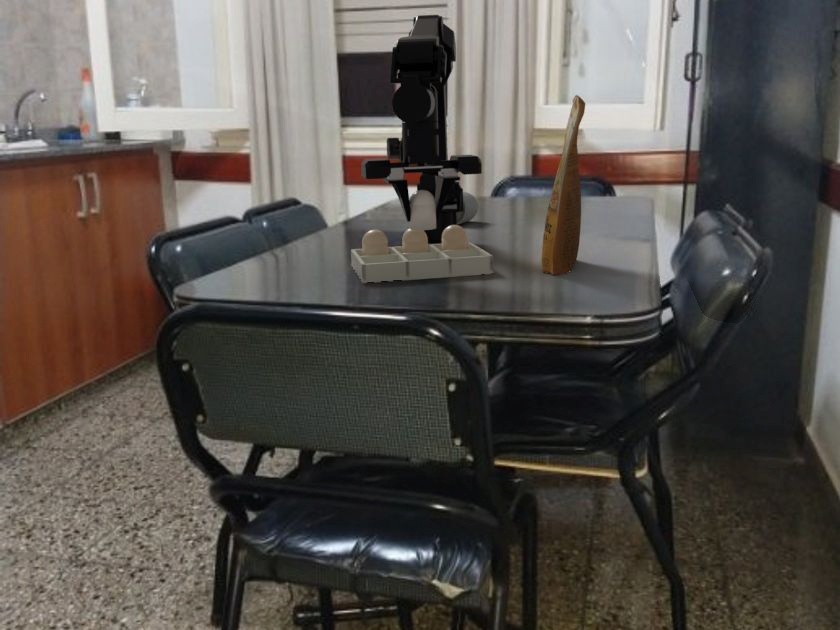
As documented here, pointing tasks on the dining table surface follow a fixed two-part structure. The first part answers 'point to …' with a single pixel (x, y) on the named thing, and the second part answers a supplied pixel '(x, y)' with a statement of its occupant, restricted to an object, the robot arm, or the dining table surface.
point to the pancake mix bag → (565, 203)
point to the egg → (422, 211)
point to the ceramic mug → (467, 208)
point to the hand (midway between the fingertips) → (422, 220)
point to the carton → (419, 257)
